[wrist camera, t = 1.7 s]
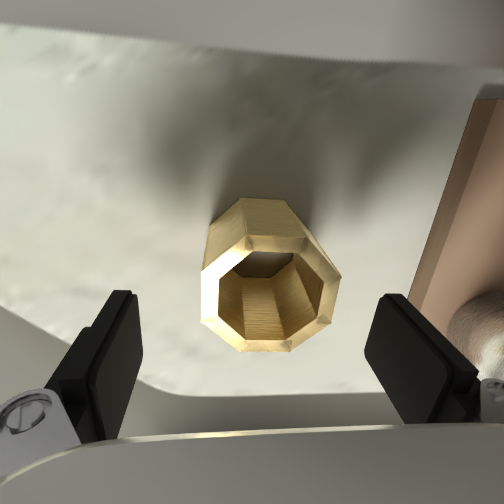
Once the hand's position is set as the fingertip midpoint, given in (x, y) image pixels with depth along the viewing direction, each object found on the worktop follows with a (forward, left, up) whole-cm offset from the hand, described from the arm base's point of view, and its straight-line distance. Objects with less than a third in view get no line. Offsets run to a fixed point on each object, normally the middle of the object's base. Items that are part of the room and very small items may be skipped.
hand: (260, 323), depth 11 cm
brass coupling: (-1, 0, -8) cm, 8 cm away
